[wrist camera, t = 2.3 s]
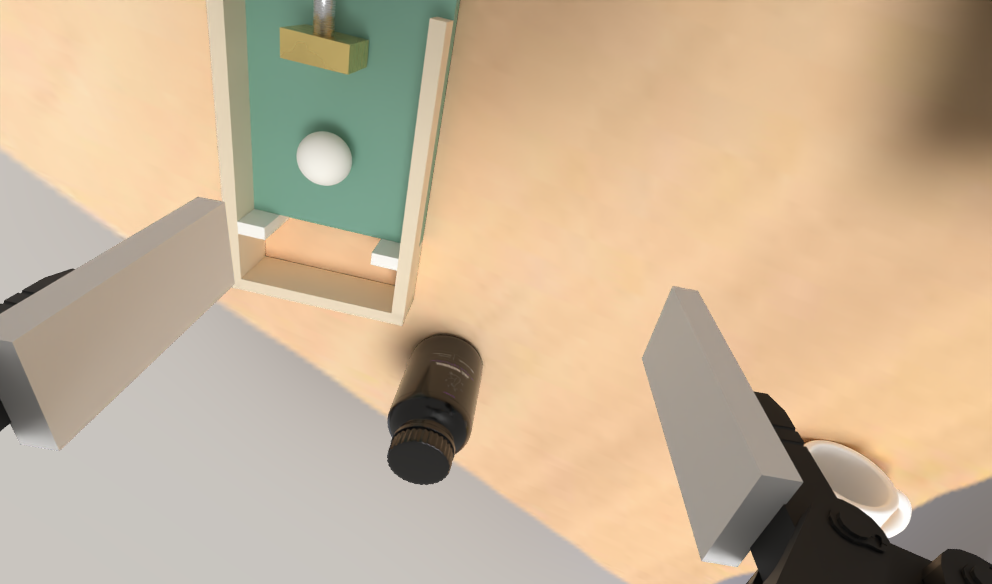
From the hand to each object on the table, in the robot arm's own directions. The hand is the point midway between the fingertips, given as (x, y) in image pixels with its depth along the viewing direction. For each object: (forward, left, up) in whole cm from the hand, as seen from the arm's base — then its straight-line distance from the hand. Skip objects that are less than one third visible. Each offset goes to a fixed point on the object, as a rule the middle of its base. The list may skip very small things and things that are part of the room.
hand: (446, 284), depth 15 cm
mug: (+27, +40, -24) cm, 53 cm away
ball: (+5, -11, -20) cm, 23 cm away
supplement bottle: (+23, 0, -24) cm, 33 cm away
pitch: (+5, -11, -23) cm, 26 cm away
